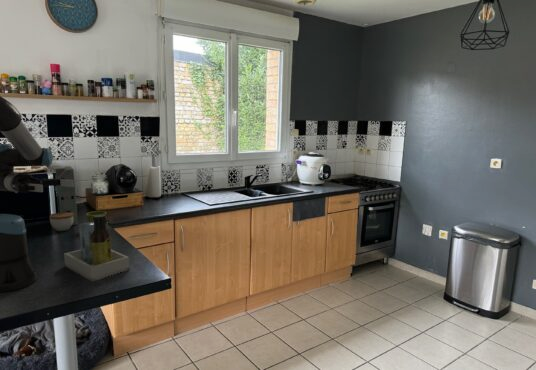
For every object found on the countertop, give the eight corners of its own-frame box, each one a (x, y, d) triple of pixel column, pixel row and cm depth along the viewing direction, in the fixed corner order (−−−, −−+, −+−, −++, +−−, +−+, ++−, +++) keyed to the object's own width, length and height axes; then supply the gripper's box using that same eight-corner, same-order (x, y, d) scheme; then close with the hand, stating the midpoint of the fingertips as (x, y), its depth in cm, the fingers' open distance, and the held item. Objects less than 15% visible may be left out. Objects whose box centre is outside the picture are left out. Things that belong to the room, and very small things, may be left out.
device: (59, 220, 212) (54, 167, 207) (74, 218, 216) (70, 166, 211) (61, 226, 198) (56, 170, 193) (77, 224, 202) (73, 169, 197)
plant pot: (111, 228, 194) (110, 212, 193) (94, 233, 187) (93, 216, 185) (100, 226, 199) (99, 210, 198) (83, 230, 191) (82, 213, 190)
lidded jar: (70, 225, 200) (69, 208, 199) (77, 229, 193) (76, 211, 191) (47, 229, 193) (46, 211, 191) (54, 233, 185) (52, 215, 184)
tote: (129, 270, 139) (128, 257, 139) (91, 281, 129) (90, 267, 128) (101, 256, 154) (100, 244, 153) (65, 266, 143) (64, 253, 142)
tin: (92, 265, 141) (89, 226, 139) (78, 264, 142) (75, 225, 140) (102, 260, 147) (99, 222, 144) (88, 259, 148) (85, 221, 145)
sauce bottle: (113, 270, 137) (110, 216, 134) (94, 273, 133) (90, 218, 130) (110, 264, 142) (107, 213, 139) (92, 267, 139) (88, 215, 136)
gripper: (48, 187, 166) (85, 190, 158) (-11, 197, 143) (28, 201, 135) (47, 170, 164) (83, 172, 157) (-13, 177, 142) (26, 180, 134)
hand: (58, 185), depth 146 cm, fingers open, 13 cm apart
